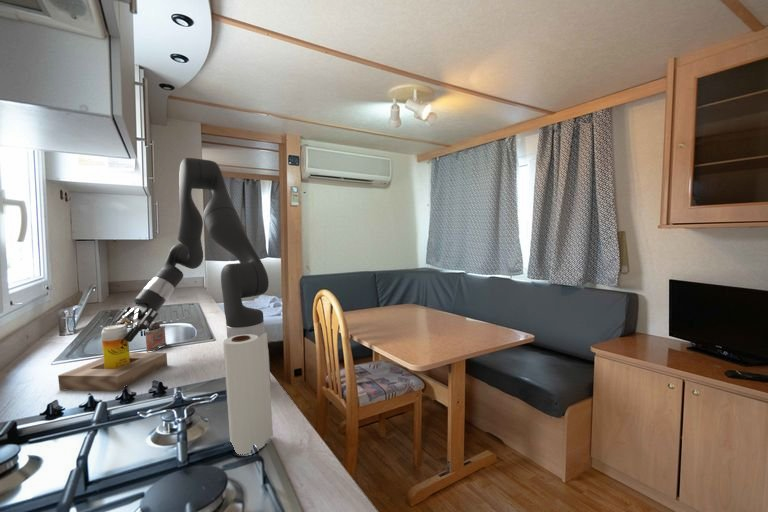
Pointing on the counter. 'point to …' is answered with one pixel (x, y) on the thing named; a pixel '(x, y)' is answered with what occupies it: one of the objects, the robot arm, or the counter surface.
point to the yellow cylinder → (115, 347)
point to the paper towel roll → (248, 391)
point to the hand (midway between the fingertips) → (118, 339)
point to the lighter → (155, 336)
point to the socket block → (112, 373)
